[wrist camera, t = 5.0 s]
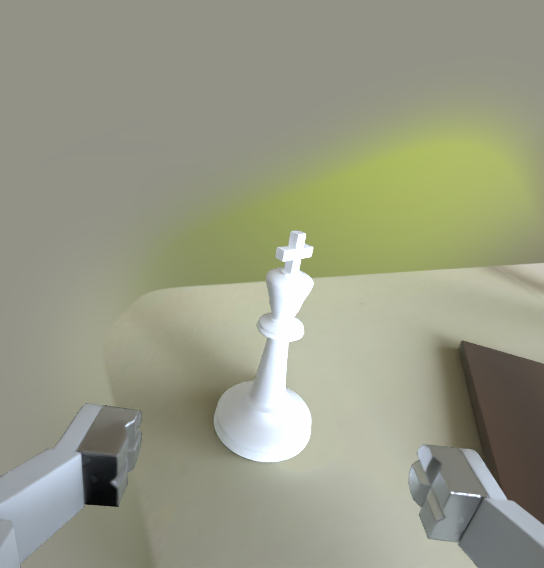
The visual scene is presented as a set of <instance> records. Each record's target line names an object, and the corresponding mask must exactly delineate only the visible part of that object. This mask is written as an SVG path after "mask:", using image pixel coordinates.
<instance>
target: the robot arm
mask: <svg viewBox="0 0 544 568" xmlns="http://www.w3.org/2000/svg"><path fill="white" fill-rule="evenodd" d="M141 422H142V411H140V410H134V409H127V408H121V407H114V406H107V405H105V406H104V405H96V404H90V403H86V404H85V405H84V406H82V407H81V409H80V410H79V412H78V413H77V415H76V416H75V418H74V419H73V421H72V422H71V424H70V425H69V427H68V428H67V429H66V431H65V432H64V434H63V436H62V437H61V438H60V440H59V441H58V443H57V444H56V446H55V447H54V449H46V450H45V451H43V452H41V453H40V454H38V455H36V456H35V457H33V458H31V459H29V460H27V461H26V462H24V463H22V464H21V465H19V466H17V467H15V468H14V469H12V470H10V471H9V472H7V473H5V474H4V475H2V476H0V568H21V567H20V564H21V563H22V562H23V561H24V560H25V559H26V558H28V557H29V556H30V555H31V554H32V553H33V552H34V551H35V550H37V549H38V548H39V547H40V546H41V545H42V544H43V543H44V542H45V541H46V540H48V539H49V538H50V537H51V536H52V535H53V534H54V533H55V532H56V531H58V530H59V529H60V528H61V527H62V526H63V525H64V524H66V523H67V522H68V521H69V520H70V519H71V518H72V517H73V516H74V515H76V514H77V513H78V512H79V511H80V510H81V509H82V508H83V507H84V504H87V505H100V506H114V507H119V504H120V502H121V499H122V497H123V494H124V492H125V489H126V487H127V484H128V473H129V472H130V471H132V470H133V469H134V467H135V464H136V462H137V459H138V455H139V451H140V447H141V440H142V433H141V432H140V430H139V427H140V425H141ZM417 455H418V457H419V460H418V461H416V462H415V463H414V464H412V466H411V469H410V471H409V488H410V492H411V495H412V498H413V500H414V501H415V502H416V503H417V504H418V505H419V506H420V507H421V510H420V513H419V516H420V519H421V521H422V524H423V527H424V529H425V532H426V534H427V537H428V539H434V540H442V541H449V542H457V543H458V545H459V546H460V547H461V548H462V550H463V551H464V552H465V553H466V554H467V555H468V557H469V558H470V559H471V560H472V561H473V562H474V564H475V565H476V566H477V567H478V568H544V525H543V524H542V523H540V522H539V521H538V520H537V519H535V518H534V517H533V516H532V515H530V514H529V513H528V512H527V511H525V510H524V509H523V508H522V507H520V506H519V505H518V504H516V503H515V502H514V501H510V500H507V498H506V496H505V495H504V493H503V492H502V490H501V489H500V487H499V485H498V484H497V482H496V481H495V479H494V478H493V476H492V474H491V473H490V471H489V470H488V468H487V467H486V465H485V463H484V462H483V460H482V459H481V457H480V456H479V454H478V453H477V452H476V451H475V450H473V449H465V448H454V447H446V446H437V445H427V444H423V445H422V446H420V447H419V450H418V452H417Z"/></svg>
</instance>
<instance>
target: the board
mask: <svg viewBox="0 0 544 568" xmlns="http://www.w3.org/2000/svg"><path fill="white" fill-rule="evenodd" d="M459 352H460V356H461V360H462V364H463V369H464V373H465V377H466V381H467V385H468V390H469V394H470V398H471V402H472V406H473V411H474V415H475V419H476V423H477V428H478V432H479V436H480V440H481V444H482V449H483V453H484V457H485V461H486V466H487V468H488V470H489V471H490V473H491V474H492V476H493V478H494V479H495V481H496V482H497V484H498V485H499V487H500V489H501V490H502V492H503V493H504V495H505V496H506V498H507V500H510V501H514V502H515V503H516V504H518V505H519V506H520V507H522V508H523V509H524V510H525V511H527V512H528V513H529V514H530V515H532V516H533V517H534V518H535V519H537V520H538V521H539V522H540V523H542V524H543V525H544V364H542V363H539V362H535V361H532V360H529V359H525V358H522V357H518V356H515V355H511V354H508V353H504V352H501V351H497V350H494V349H490V348H487V347H484V346H480V345H477V344H473V343H470V342H466V341H461V344H460V346H459Z"/></svg>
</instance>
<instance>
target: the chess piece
mask: <svg viewBox="0 0 544 568" xmlns="http://www.w3.org/2000/svg"><path fill="white" fill-rule="evenodd" d="M305 237H306V234H305V233H303V232H301V231H291V234H290V239H289V245H288V246H286V247H278V248H277V252H276V258H277V259H279V260H281V261H285V267H284V268H275V269H272V270H270V271H269V272H268V273H267V275H266V283H267V288H268V292H269V299H270V307H271V311H272V313H267V314H264V315H262V316H261V317H260V319H259V321H258V322H257V328H258V330H259V332H260V333H261V334H263V335H264V336H266V337H268V338H267V342H266V345H265V348H264V352H263V355H262V358H261V361H260V364H259V367H258V370H257V373H256V376H255V379H254V381H246V382H242V383H239V384H236V385H234V386H232V387H231V388H229V389H228V390H227V391H225V392H224V393H223V395H222V396H221V397H220V399H219V401H218V404H217V408H216V410H215V413H214V427H215V431H216V433H217V435H218V437H219V438H220V440H221V441H222V442H223V444H224V445H225V446H226V447H228V448H229V449H230V450H231V451H233V452H234V453H236V454H238V455H240V456H242V457H244V458H247V459H250V460H254V461H259V462H278V461H283V460H286V459H289V458H291V457H293V456H295V455H296V454H298V453H299V452H300V451H301V450H302V449H303V448H304V447H305V446H306V444H307V443H308V440H309V437H310V431H311V428H310V427H311V415H310V412H309V409H308V407H307V405H306V404H305V402H304V401H303V400H302V399H301V398H300V397H299V396H298V395H297V394H296V393H295V392H293V391H292V390H290V389H288V388H287V387H285V383H286V365H287V353H288V343H289V342H290V341H295V340H298V339H300V338H301V337H302V336H303V334H304V329H303V324H302V323H301V322H300V321H299V320H298V319H297V318H295V317H294V316H295V315H296V313H297V312H298V310H299V309H300V307H301V305H302V303H303V301H304V300H305V298H306V297H307V295H308V294H309V292H310V291H311V289H312V286H313V281H312V279H311V278H310V277H309V276H308V275H307V274H305V273H304V272H302V271H299V266H300V261H301V258H307V257H311V255H312V251H313V247H312V246H310V245H307V244H304V241H305Z"/></svg>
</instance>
